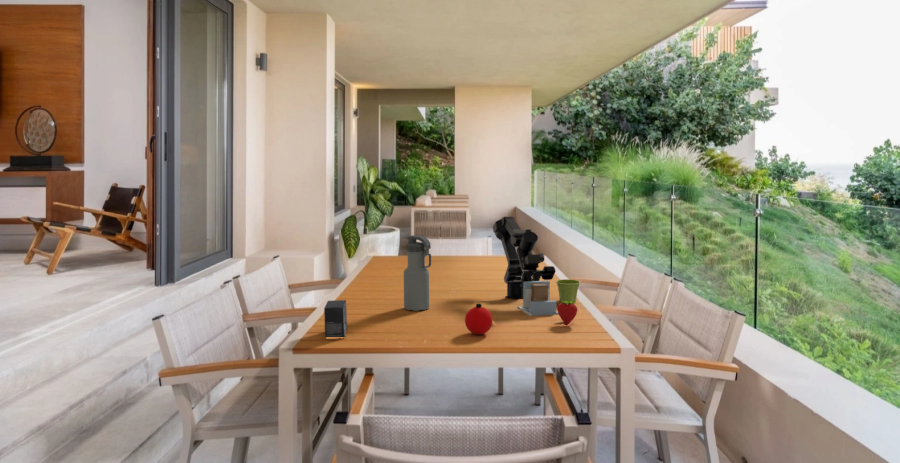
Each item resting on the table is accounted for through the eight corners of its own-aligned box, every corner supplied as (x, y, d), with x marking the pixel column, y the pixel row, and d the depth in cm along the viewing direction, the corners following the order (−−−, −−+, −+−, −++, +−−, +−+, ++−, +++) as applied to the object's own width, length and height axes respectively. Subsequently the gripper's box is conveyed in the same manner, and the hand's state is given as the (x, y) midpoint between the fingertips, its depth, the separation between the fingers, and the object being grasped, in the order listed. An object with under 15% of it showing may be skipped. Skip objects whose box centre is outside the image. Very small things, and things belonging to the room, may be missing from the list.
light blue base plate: (517, 309, 234) (517, 305, 234) (545, 307, 236) (545, 304, 236) (529, 317, 221) (529, 314, 220) (559, 316, 223) (559, 312, 223)
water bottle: (434, 307, 238) (434, 235, 235) (423, 312, 229) (422, 238, 227) (411, 304, 243) (410, 234, 240) (399, 310, 234) (398, 236, 231)
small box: (327, 331, 204) (327, 300, 203) (347, 330, 205) (347, 299, 204) (324, 339, 194) (323, 307, 193) (345, 339, 194) (344, 306, 193)
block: (531, 310, 228) (531, 284, 227) (543, 309, 229) (544, 283, 228) (534, 313, 224) (534, 286, 223) (547, 312, 225) (548, 285, 224)
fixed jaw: (528, 313, 224) (528, 301, 223) (553, 312, 226) (553, 300, 225) (530, 315, 222) (530, 302, 221) (556, 313, 223) (556, 301, 223)
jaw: (523, 307, 230) (523, 281, 229) (547, 306, 232) (547, 280, 231) (525, 309, 228) (525, 282, 227) (549, 308, 230) (550, 281, 229)
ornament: (494, 337, 195) (494, 306, 194) (466, 338, 195) (466, 307, 194) (490, 330, 204) (490, 300, 203) (463, 330, 204) (463, 301, 203)
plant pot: (579, 306, 239) (580, 284, 238) (555, 305, 241) (555, 283, 240) (579, 300, 248) (580, 279, 247) (556, 300, 250) (556, 279, 249)
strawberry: (564, 321, 215) (564, 293, 214) (581, 325, 210) (581, 296, 209) (552, 324, 212) (553, 295, 211) (569, 328, 206) (570, 299, 205)
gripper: (507, 246, 232) (516, 280, 223) (554, 245, 236) (564, 278, 226) (501, 264, 241) (509, 297, 231) (546, 262, 244) (556, 295, 235)
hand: (535, 291), depth 231 cm, fingers closed, pressing on jaw
